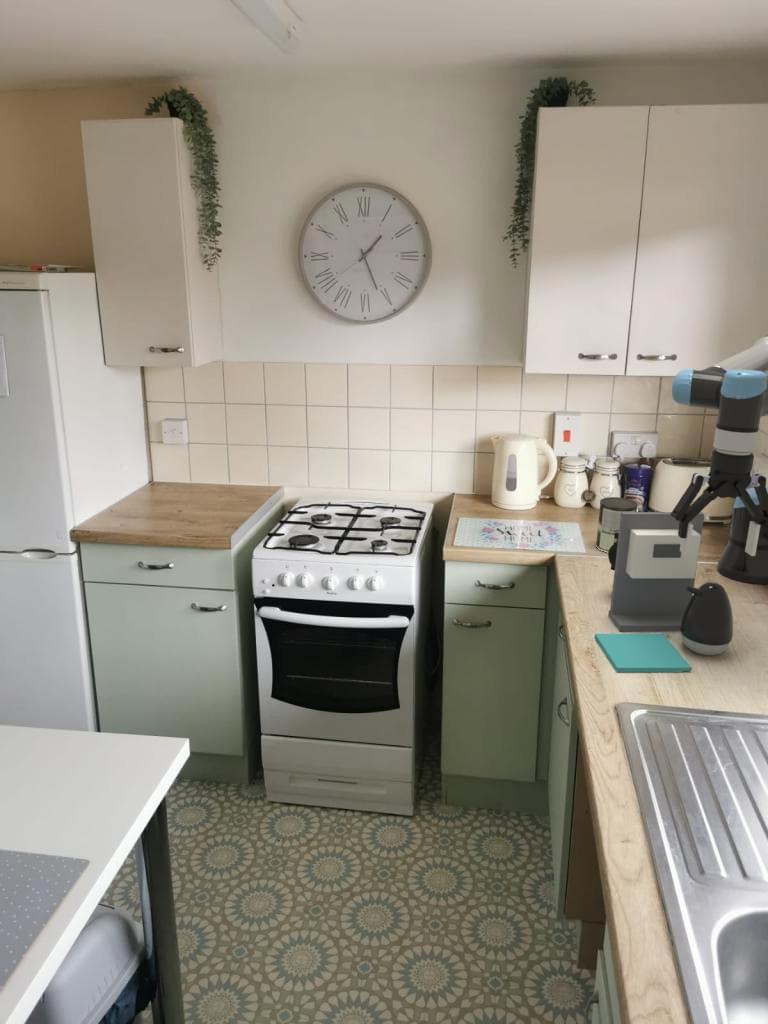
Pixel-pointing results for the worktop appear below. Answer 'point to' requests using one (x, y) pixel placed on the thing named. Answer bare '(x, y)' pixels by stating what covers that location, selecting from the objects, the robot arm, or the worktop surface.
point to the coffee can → (611, 519)
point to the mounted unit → (652, 572)
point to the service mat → (642, 653)
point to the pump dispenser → (707, 620)
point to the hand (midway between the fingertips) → (717, 553)
